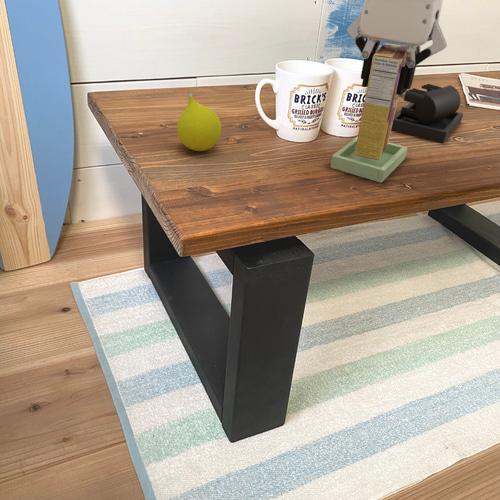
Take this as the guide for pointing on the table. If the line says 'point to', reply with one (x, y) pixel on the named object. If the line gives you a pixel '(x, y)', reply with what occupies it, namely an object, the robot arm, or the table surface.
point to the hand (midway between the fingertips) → (384, 87)
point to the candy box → (380, 101)
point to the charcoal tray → (433, 131)
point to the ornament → (198, 126)
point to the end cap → (431, 104)
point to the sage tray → (368, 161)
